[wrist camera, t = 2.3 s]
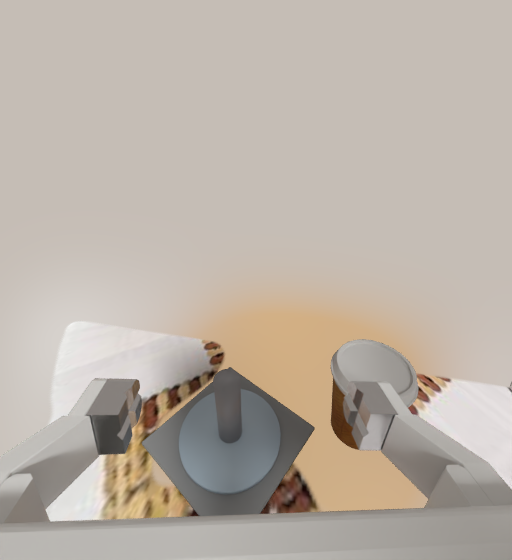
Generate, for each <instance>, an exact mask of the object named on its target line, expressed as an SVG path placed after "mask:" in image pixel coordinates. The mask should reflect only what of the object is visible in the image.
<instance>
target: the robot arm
mask: <svg viewBox="0 0 512 560" xmlns="http://www.w3.org/2000/svg"><path fill="white" fill-rule="evenodd" d="M139 389H140V384H139V380H137V379H99V378H95V379H94V380H92V381H91V383H90V384H89V385H88V387H87V388H86V390H85V391H84V393H83V394H82V396H81V397H80V399H79V400H78V401H77V403H76V404H75V406H74V407H73V409H72V410H71V412H70V413H69V414H68V416H62V417H61V418H59V419H57V420H56V421H54V422H53V423H51V424H50V425H48V426H47V427H45V428H44V429H42V430H40V431H39V432H37V433H36V434H34V435H33V436H31V437H30V438H28V439H26V440H25V441H23V442H22V443H20V444H19V445H17V446H16V447H14V448H12V449H11V450H9V451H8V452H6V453H5V454H3V455H2V456H0V560H512V490H511V489H510V487H509V486H508V485H507V484H506V483H505V482H504V480H503V479H502V478H501V477H500V476H499V475H498V473H497V472H496V471H495V470H494V469H493V467H492V466H491V465H490V464H489V463H488V462H486V461H485V460H483V459H482V458H480V457H479V456H477V455H476V454H474V453H473V452H471V451H470V450H468V449H467V448H465V447H464V446H462V445H461V444H459V443H458V442H456V441H455V440H453V439H452V438H450V437H449V436H447V435H446V434H444V433H443V432H441V431H440V430H438V429H437V428H435V427H434V426H432V425H431V424H429V423H428V422H426V421H425V420H423V419H422V418H420V417H419V416H417V415H412V413H411V412H410V411H409V409H408V408H407V407H406V405H405V404H404V402H403V401H402V400H401V398H400V397H399V395H398V394H397V393H396V391H395V390H394V388H393V387H392V386H391V384H390V383H389V382H387V381H350V382H349V383H348V385H347V391H348V394H347V395H346V396H345V397H344V401H343V412H344V416H345V419H346V421H347V423H348V424H349V425H350V426H352V427H353V431H352V435H353V437H354V440H355V442H356V444H357V447H358V449H359V450H382V453H383V454H384V455H385V456H386V457H387V458H388V459H389V460H390V461H391V462H392V463H393V464H394V465H395V466H396V467H397V468H398V469H399V470H400V471H401V472H402V473H403V474H404V475H405V476H406V477H407V478H408V479H409V480H410V481H411V482H412V483H413V484H414V485H415V486H416V487H417V488H418V489H419V490H420V491H421V492H422V493H423V494H424V495H425V496H426V497H427V498H428V501H427V503H426V505H425V507H424V508H413V509H385V510H360V511H359V510H358V511H332V512H331V511H330V512H303V513H276V514H248V515H221V516H194V517H166V518H138V519H111V520H83V521H55V522H50V520H49V518H48V515H47V513H46V510H45V509H46V508H47V507H48V506H49V505H50V504H51V503H52V502H53V501H54V500H55V499H56V498H57V497H58V496H59V495H60V494H61V493H62V492H63V491H64V490H65V489H66V488H67V487H68V486H69V485H70V484H71V483H72V482H73V481H74V480H75V479H76V478H77V477H78V476H79V475H80V474H81V473H82V472H83V471H84V470H85V469H86V468H87V467H88V466H89V465H91V464H92V463H93V462H94V461H95V460H96V459H97V458H98V457H99V455H105V454H125V452H126V450H127V447H128V445H129V442H130V440H131V437H132V429H131V428H133V427H134V426H135V425H136V424H137V422H138V419H139V417H140V412H141V406H142V400H141V396H140V395H139V394H138V391H139ZM510 389H511V390H512V383H511V385H510Z"/></svg>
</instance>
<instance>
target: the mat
mask: <svg viewBox="0 0 512 560" xmlns="http://www.w3.org/2000/svg"><path fill="white" fill-rule="evenodd" d="M228 369H232V368H231V367H229V368H228ZM232 370H233V369H232ZM234 371H235V370H234ZM238 374H239V373H238ZM239 375H240V374H239ZM240 379H241V389H244V390H248V391H251V392H253V393H255V394H257V395H259V396H260V397H262V398H263V399H264V400H265V401H266V402H267V403H268V404H269V405H270V406H271V407H272V409H273V410H274V412H275V414H276V416H277V419H278V422H279V426H280V433H281V435H280V447H279V452H278V456H277V459H276V461H275V463H274V465H273V467H272V468H271V470H270V471H269V473H268V474H267V475H266V476H265V477H264V478H263V479H262V480H261V481H260V482H259V483H258V484H256V485H255V486H253V487H252V488H250V489H248V490H246V491H243V492H240V493H235V494H216V493H213V492H209V491H207V490H205V489H203V488H201V487H200V486H199V485H197V484H196V483H195V482H194V481H193V480H192V479H191V478H190V477H189V475H188V474H187V472H186V471H185V469H184V467H183V464H182V461H181V457H180V452H179V435H180V430H181V427H182V424H183V422H184V420H185V418H186V416H187V414H188V413H189V411H190V410H191V409H192V408H193V406H195V405H196V404H197V403H198V402H199V401H200V400H201V399H203V398H204V397H206V396H207V395H209V394H211V393H213V392H214V384H213V382H212V383H211V384H209V385H208V386H207V387H206V388H205V389H204V390H202V391H201V392H200V393H199V394H198V395H197V396H196V397H194V398H193V399H192V400H191V401H190V402H188V403H187V404H186V405H185V406H184V407H183V408H181V409H180V410H179V411H178V412H177V413H176V414H175V415H174V416H172V417H171V418H170V419H169V420H167V421H166V422H165V423H164V424H163V425H162V426H161V427H159V428H158V429H157V430H156V431H155V432H154V433H152V434H151V435H150V436H149V437H148V438H147V439H145V440H144V441H143V442H142V445H143V446H144V447H145V448H146V450H147V451H148V452H149V453H150V455H151V456H152V457H153V459H154V460H155V461H156V462H157V463H158V465H159V466H160V467H161V469H162V470H163V471H164V472H165V474H166V475H167V476H168V477H169V479H170V480H171V481H172V482H173V484H174V485H175V486H176V487H177V489H178V490H179V491H180V492H181V494H182V495H183V496H184V497H185V499H186V500H187V501H188V502H189V504H190V505H191V506H192V507H193V509H194V510H195V511H196V512H197V514H198V515H199V516H221V515H248V514H260V513H261V511H262V510H263V508H264V507H265V505H266V504H267V502H268V501H269V499H270V497H271V496H272V494H273V493H274V491H275V490H276V488H277V487H278V485H279V483H280V482H281V480H282V479H283V477H284V476H285V474H286V473H287V471H288V470H289V468H290V466H291V465H292V463H293V462H294V460H295V458H296V457H297V455H298V454H299V452H300V451H301V449H302V448H303V446H304V445H305V443H306V441H307V440H308V438H309V437H310V435H311V434H312V432H313V431H314V427H313V426H312V425H311V424H309V423H308V422H306V421H305V420H304V419H302V418H301V417H299V416H298V415H297V414H295V413H294V412H292V411H291V410H290V409H288V408H287V407H285V406H284V405H283V404H281V403H280V402H278V401H277V400H276V399H274V398H273V397H271V396H270V395H268V394H267V393H266V392H264V391H263V390H261V389H260V388H259V387H257V386H255V385H254V384H253V383H252V382H250V381H249V380H247V379H246V378H245V377H243V376H242V375H240Z"/></svg>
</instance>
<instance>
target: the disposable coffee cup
mask: <svg viewBox="0 0 512 560" xmlns="http://www.w3.org/2000/svg"><path fill="white" fill-rule="evenodd" d="M331 371H332V375H333V393H332V415H331V425H332V427H333V430H334V432H335V434H336V435H337V437H338V438H339V439H340V440H341V441H342V442H343V443H345V444H346V445H347V446H349V447H351V448H354V449H358V447H357V444H356V442H355V440H354V437H353V435H352V431H353V427H352V426H350V425H349V424H348V423H347V421H346V419H345V416H344V412H343V401H344V397H345V396H346V395H347V394H348V391H347V385H348V383H349V382H350V381H387V382H389V383H390V384H391V386H392V387H393V388H394V390H395V391H396V393H397V394H398V395H399V397H400V398H401V400H402V401H403V402H404V404H405V405H406V407H407V408H408V407H410V406H411V405H412V404H413V403H414V401H415V400H416V398H417V395H418V383H417V376H416V373H415V370H414V368H413V367H412V365H411V364H410V362H409V361H408V360H407V359H406V358H405V357H404V356H403V355H402V354H401V353H399V352H397V351H396V350H395V349H393V348H391V347H389V346H387V345H385V344H383V343H379V342H376V341H372V340H364V339H362V340H354V341H350V342H347V343H346V344H344V345H343V346H342V347H341V348H340V349H339V350H337V352H336V353H335V354H334V355H333V357H332V360H331ZM358 450H359V449H358Z"/></svg>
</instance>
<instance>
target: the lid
mask: <svg viewBox="0 0 512 560" xmlns="http://www.w3.org/2000/svg"><path fill="white" fill-rule="evenodd" d="M213 384H214V392H213V393H211V394H209V395H207V396H206V397H204V398H203V399H201V400H200V401H199V402H198V403H197V404H196V405H195V406H193V408H192V409H191V410H190V411H189V413H188V414H187V416H186V418H185V420H184V422H183V424H182V427H181V430H180V435H179V452H180V457H181V461H182V464H183V467H184V469H185V471H186V472H187V474H188V475H189V477H190V478H191V479H192V480H193V481H194V482H195V483H196V484H197V485H199V486H200V487H201V488H203V489H205V490H207V491H209V492H213V493H216V494H235V493H240V492H243V491H246V490H248V489H250V488H252V487H253V486H255V485H256V484H258V483H259V482H260V481H261V480H262V479H263V478H264V477H265V476H266V475H267V474H268V473H269V471H270V470H271V468H272V467H273V465H274V463H275V461H276V459H277V456H278V452H279V447H280V435H281V433H280V426H279V422H278V419H277V416H276V414H275V412H274V410H273V409H272V407H271V406H270V405H269V404H268V403H267V402H266V401H265V400H264V399H263V398H262V397H260V396H259V395H257V394H255V393H253V392H251V391H248V390H244V389H241V379H240V375H239V374H238V373H237V372H236V371H234V370H232V369H225V370H221V371H219V372H218V373H217V374H216V375H215V377H214V379H213Z"/></svg>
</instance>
